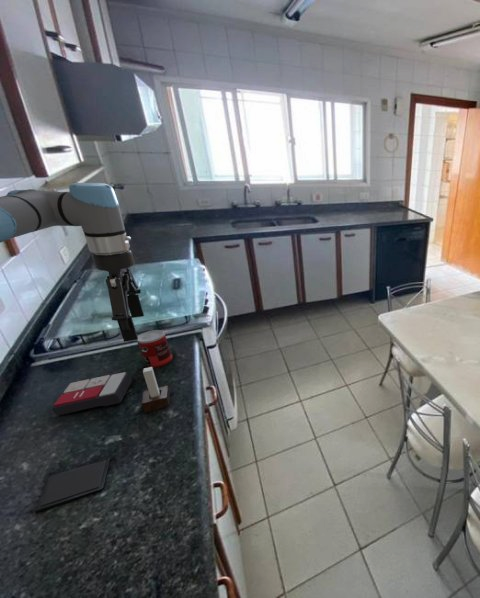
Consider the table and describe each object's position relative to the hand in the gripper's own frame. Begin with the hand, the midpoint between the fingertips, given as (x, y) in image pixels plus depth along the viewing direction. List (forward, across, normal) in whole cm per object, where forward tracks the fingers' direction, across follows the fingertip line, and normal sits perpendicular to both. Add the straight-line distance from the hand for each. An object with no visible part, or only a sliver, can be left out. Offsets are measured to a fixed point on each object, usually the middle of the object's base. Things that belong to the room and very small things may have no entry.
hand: (134, 327), depth 88 cm
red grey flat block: (+26, +10, +16) cm, 33 cm away
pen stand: (+27, 0, 0) cm, 27 cm away
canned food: (+27, +24, +1) cm, 36 cm away
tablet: (+27, -22, +14) cm, 37 cm away
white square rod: (+27, 0, 0) cm, 27 cm away
